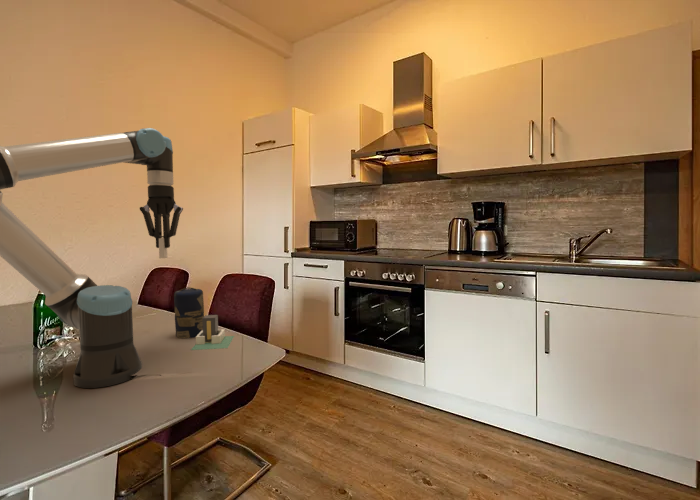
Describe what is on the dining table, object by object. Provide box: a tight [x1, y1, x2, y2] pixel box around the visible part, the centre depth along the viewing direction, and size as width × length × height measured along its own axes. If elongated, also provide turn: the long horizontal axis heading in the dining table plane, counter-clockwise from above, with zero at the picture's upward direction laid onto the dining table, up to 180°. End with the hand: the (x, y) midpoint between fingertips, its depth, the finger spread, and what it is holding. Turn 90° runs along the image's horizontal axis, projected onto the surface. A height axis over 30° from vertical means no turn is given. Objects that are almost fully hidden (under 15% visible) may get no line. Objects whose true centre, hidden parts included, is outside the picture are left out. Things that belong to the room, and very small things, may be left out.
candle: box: [173, 286, 205, 339], centre depth 130 cm, size 10×10×18 cm
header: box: [195, 328, 226, 345], centre depth 123 cm, size 8×8×2 cm
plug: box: [202, 314, 219, 342], centre depth 123 cm, size 4×4×8 cm
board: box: [190, 335, 235, 351], centre depth 121 cm, size 13×11×1 cm
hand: (163, 257), depth 120 cm, fingers closed
